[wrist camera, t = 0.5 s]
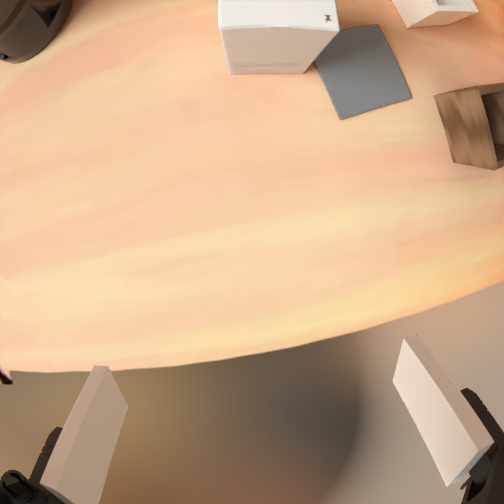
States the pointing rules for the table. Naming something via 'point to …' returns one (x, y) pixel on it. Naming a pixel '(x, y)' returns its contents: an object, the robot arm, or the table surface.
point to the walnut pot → (474, 124)
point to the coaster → (360, 71)
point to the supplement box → (275, 34)
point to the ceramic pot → (433, 11)
